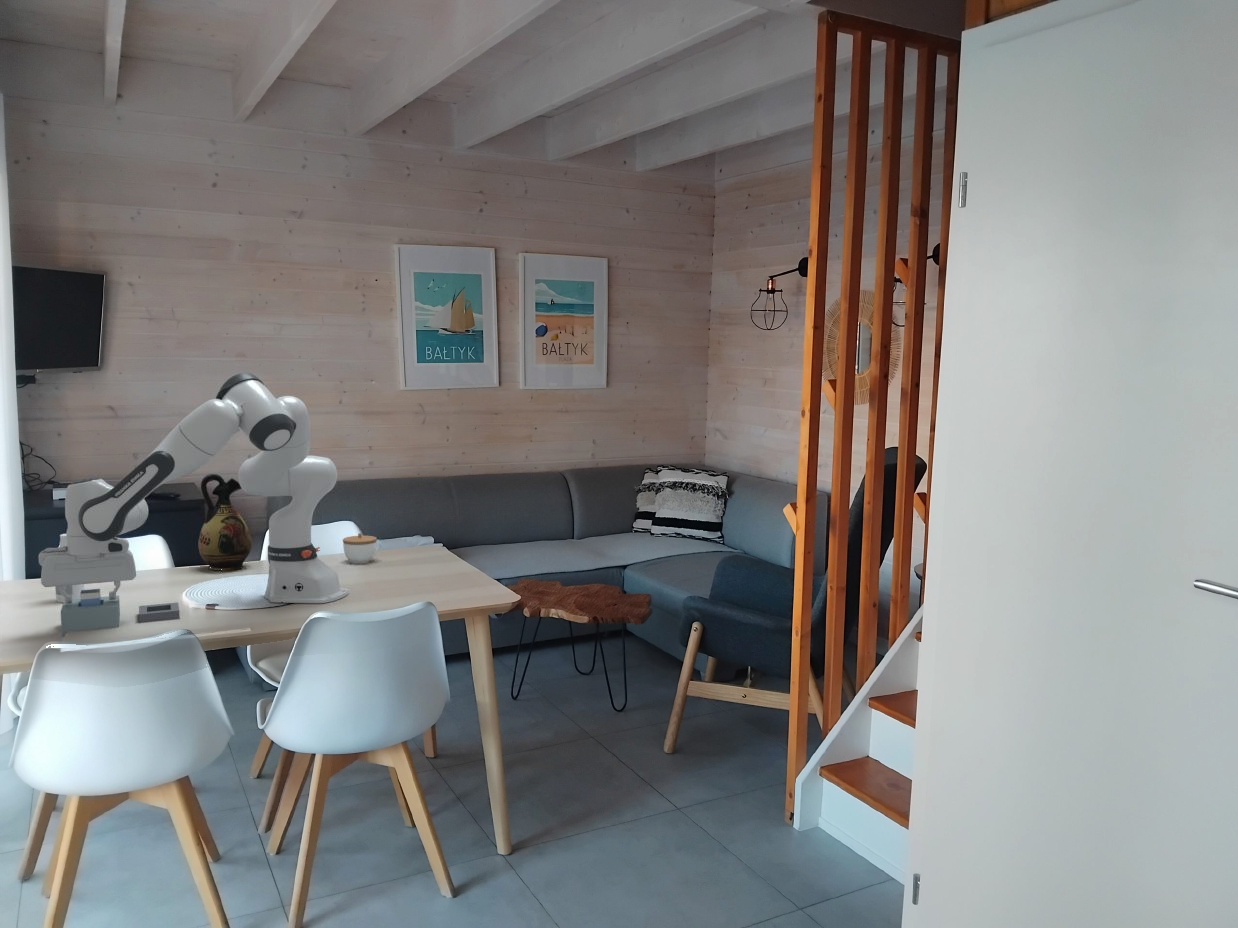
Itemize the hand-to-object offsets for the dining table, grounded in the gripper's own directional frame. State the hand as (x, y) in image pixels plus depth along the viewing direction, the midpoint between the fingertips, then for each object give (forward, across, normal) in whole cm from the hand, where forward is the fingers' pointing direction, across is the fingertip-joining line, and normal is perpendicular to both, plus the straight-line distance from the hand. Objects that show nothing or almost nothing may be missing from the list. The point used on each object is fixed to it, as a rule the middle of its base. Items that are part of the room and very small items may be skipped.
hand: (90, 601), depth 233 cm
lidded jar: (+7, +75, +52) cm, 91 cm away
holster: (+6, +15, +1) cm, 16 cm away
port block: (+6, 0, 0) cm, 6 cm away
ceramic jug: (+7, +34, +59) cm, 68 cm away
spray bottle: (+7, -6, +33) cm, 34 cm away
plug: (+6, 0, 0) cm, 7 cm away
